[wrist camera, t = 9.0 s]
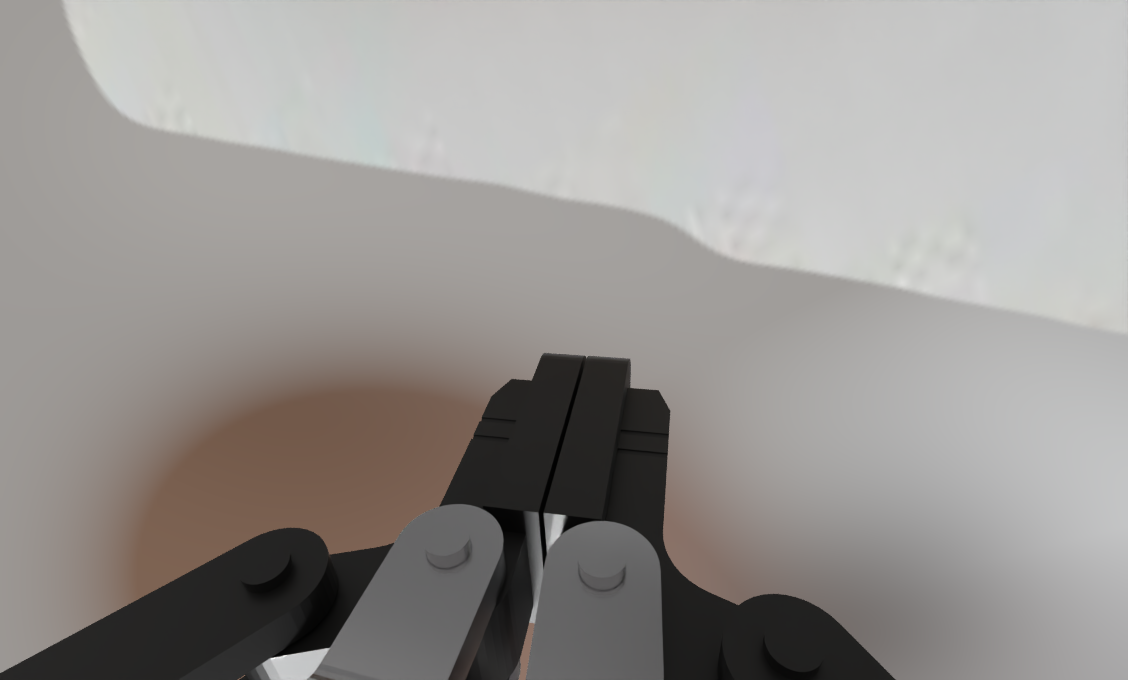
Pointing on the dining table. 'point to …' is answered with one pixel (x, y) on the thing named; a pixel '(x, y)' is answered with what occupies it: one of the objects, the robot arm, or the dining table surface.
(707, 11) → the dining table surface
